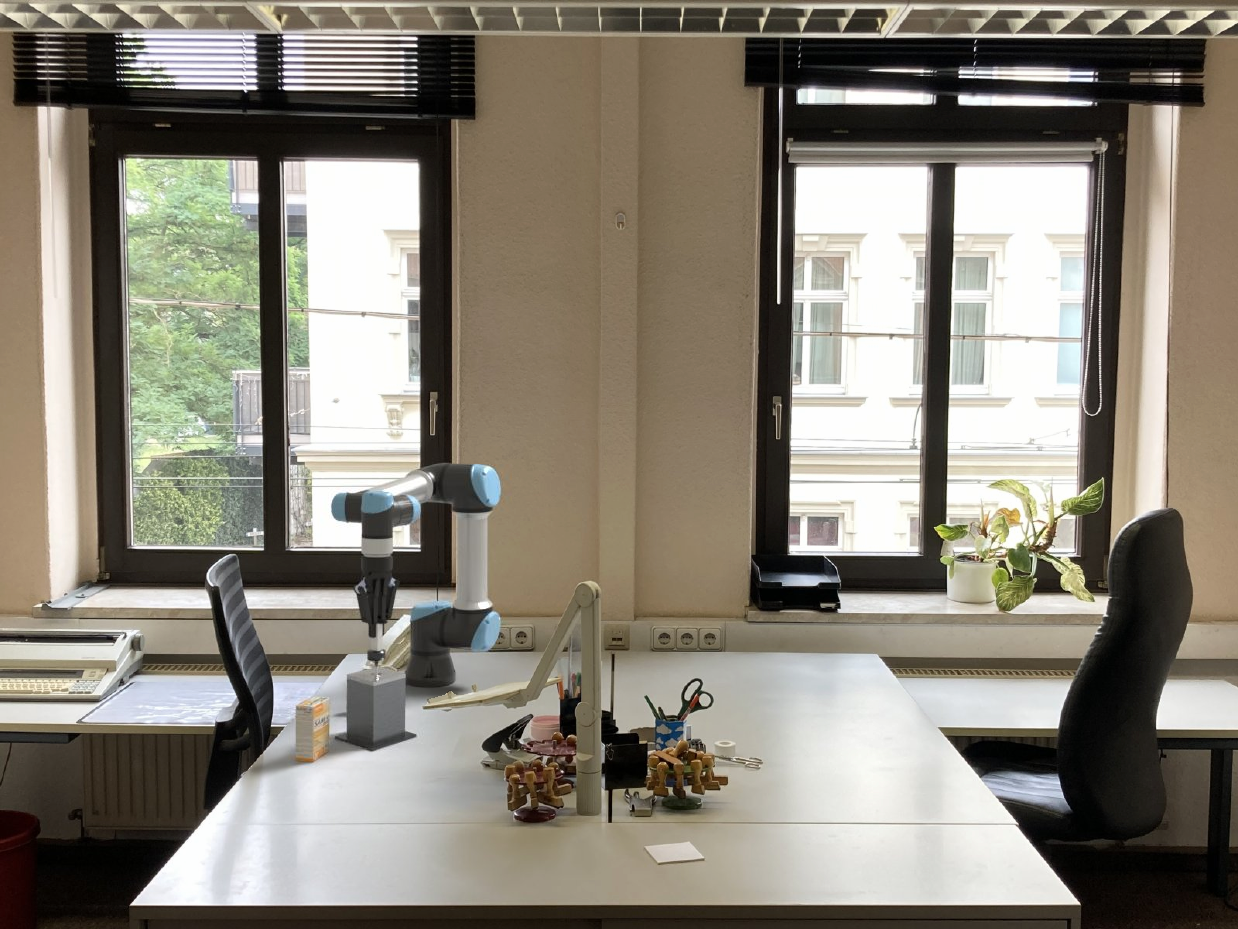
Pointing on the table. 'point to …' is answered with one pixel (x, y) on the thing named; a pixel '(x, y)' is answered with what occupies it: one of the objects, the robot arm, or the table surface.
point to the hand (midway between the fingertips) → (376, 649)
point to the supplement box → (312, 728)
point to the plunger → (376, 658)
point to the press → (375, 709)
